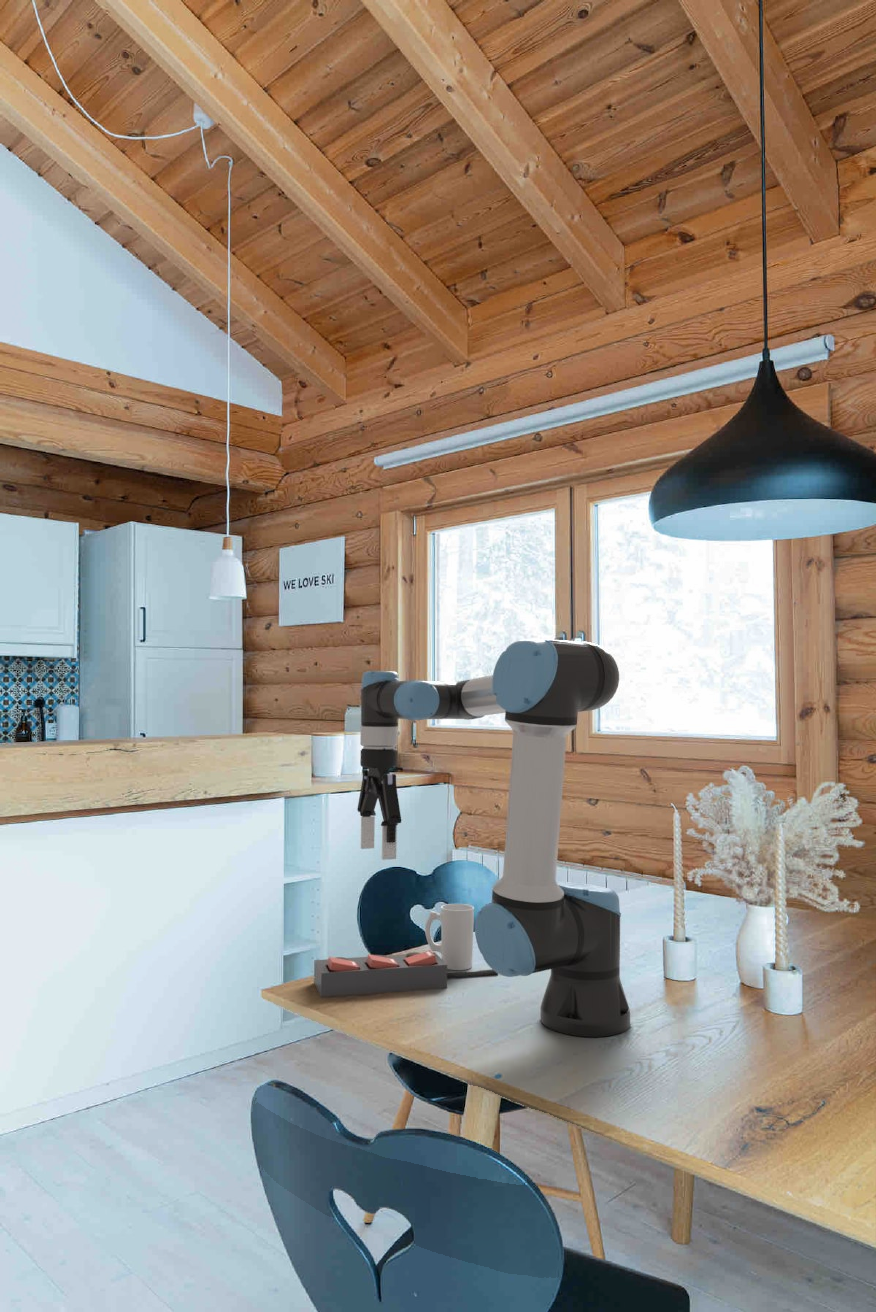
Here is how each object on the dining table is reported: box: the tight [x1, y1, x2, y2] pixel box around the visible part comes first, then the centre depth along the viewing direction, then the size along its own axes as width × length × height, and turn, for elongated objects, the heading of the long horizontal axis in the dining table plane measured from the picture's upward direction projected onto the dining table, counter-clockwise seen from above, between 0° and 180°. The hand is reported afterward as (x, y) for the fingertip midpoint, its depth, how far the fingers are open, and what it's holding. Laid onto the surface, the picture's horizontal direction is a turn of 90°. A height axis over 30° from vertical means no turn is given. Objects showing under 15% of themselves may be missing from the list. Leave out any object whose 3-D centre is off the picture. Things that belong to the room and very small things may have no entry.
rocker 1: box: [327, 956, 359, 971], centre depth 178 cm, size 4×5×2 cm
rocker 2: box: [366, 953, 398, 968], centre depth 180 cm, size 4×5×2 cm
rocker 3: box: [404, 949, 436, 966], centre depth 182 cm, size 4×5×2 cm
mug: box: [424, 903, 475, 971], centre depth 195 cm, size 10×7×12 cm, turn 80°
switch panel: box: [313, 951, 499, 998], centre depth 183 cm, size 9×36×5 cm, turn 106°
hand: (377, 853), depth 191 cm, fingers open, 13 cm apart
